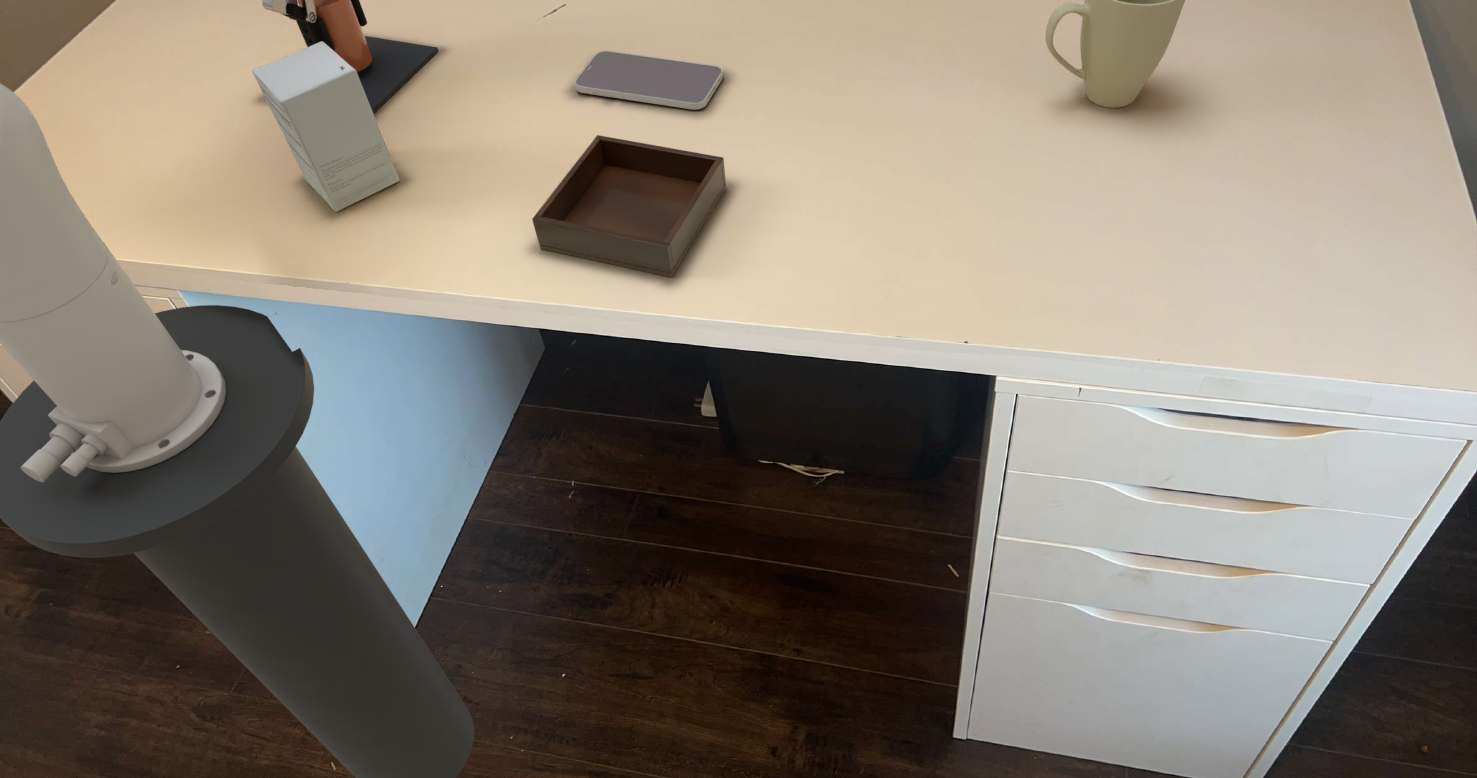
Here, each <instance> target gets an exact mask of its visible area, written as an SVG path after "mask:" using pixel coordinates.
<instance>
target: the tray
mask: <svg viewBox="0 0 1477 778" xmlns="http://www.w3.org/2000/svg"><path fill="white" fill-rule="evenodd" d="M726 189H727V181H726V169H725V159H724V157H723V156H718V155H711V154H706V153H700V152H695V151H691V150H690V151H689V150H683V149H677V148H673V147H666V146H661V145H655V144H649V143H644V142H639V141H634V140H633V141H632V140H628V139H623V138H622V139H621V138H616V137H610V136H604V135H599V134H597V135H596V136H595V137H594V139H592V141H591V143H590V144H589V145H588V146H587V148H586V149H585V151H583V153H582V154H581V155H580V157H579V158H578V159H577V160H576V162H575V163H574V164H573V166H572V167H571V168H570V170H569V171H568V172H567V173H566V175H565V176H564V177H563V178H562V179H561V181H560V182H559V184H558V185H557V187H556V188H555V189H554V190H553V191H552V193H551V194H550V195H549V197H548V198H547V199H546V200H545V202H544V203H543V204H542V205H541V207H540V208H539V209H538V211H537V212H536V213H535V215H534V216H533V217H532V218H531V219H532V224H533V227H534V231H535V235H536V238H537V241H538V245H539V249H540V250H545V251H548V252H553V253H557V254H563V255H567V256H571V257H576V258H581V259H586V260H589V261H594V262H600V263H604V264H608V265H612V266H618V267H622V268H626V269H627V268H628V269H631V270H635V271H640V272H645V273H649V274H654V275H659V276H664V277H667V278H673V276H674V275H675V274H676V271H677V270H678V268H679V266H680V265H681V263H682V262H683V260H684V258H685V256H686V254H687V253H688V251H689V250H690V248H691V247H692V245H693V244H694V242H695V240H696V238H697V237H698V235H699V234H700V232H701V231H702V228H703V227H704V225H705V223H706V222H707V220H708V219H709V217H710V215H711V214H712V212H713V210H714V208H716V205H717V204H718V202H719V201H720V199H721V197H722V196H723V194H724V193H725V190H726Z"/></svg>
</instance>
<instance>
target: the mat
mask: <svg viewBox="0 0 1477 778" xmlns="http://www.w3.org/2000/svg"><path fill="white" fill-rule="evenodd" d="M364 36H365V39H366V41H367V44H368V46H369V49H370V52H371V54H372V62H371V63H370V65H369V66H367V67H366V68H365V69H363V70H361V71H359V72H357V74H358V76H359V79H360V82H361V84H362V86H363V89H364V91H365V94H366V96H367V99H368V101H369V104H370V106H371V109H372V111H373V114H374V115H375V113H376V112H377V111H378V110H380V108H381V107H382V106H383V105H384V104H385V103H387V101H388V100H390V99H391V98H392V97H393V95H395V94H396V93H397V92H398V91H399V90H400V89H401V88H402V87H403V86H404V85H405V84H406V83H407V82H408V81H409V80H411V78H412V77H414V75H416V73H417V72H419V71H420V70H421V68H422V67H424V66H425V65H426V64H427V63H428V62H429V61H430V60H431V59H432V58H433V57H434V56H435V55H436V54H437V53H439V48H438V47H437V46H432V45H424V44H419V43H413V42H406V41H400V40H393V39H387V38H380V37H374V36H368V35H364Z"/></svg>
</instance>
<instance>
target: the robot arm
mask: <svg viewBox="0 0 1477 778" xmlns="http://www.w3.org/2000/svg"><path fill="white" fill-rule="evenodd" d="M261 2H262V7H263V9H264V10H267V11H271V12H274V13H278V14H280V15H282V16H285V17H287V18H288V19H289V20H291V21H296V25H297V26H298V29H299V31H300V33H301V35H302V38H303V40H304V43H305V45H306V48H307V47H310V46H312V45H314V44H317V43H319V42H324V43H325V44H326V45H327V46H329V47H330V48H331V49H332V50H333V51H334V52H335V48H334V45H333V43H332V40H331V38H330V35H329V33H328V30H327V28H326V25H325V23H324V21H323V19H322V18H318V17H317V15H316V10H315V4H314V0H302V6H303V7H301V6H299V3H298V0H262V1H261ZM351 2H352V4H353V7H354V9H355V12H356V15H357V17H358V20H359V23H360V25H361V27H366V26H367V24H368V20H367V18H366V15H365V12H364V10H363V7H362V4H361V1H360V0H351ZM155 313H156V312H155V311H154V310H153V309H152V308H151V306H150V305H149V303H148V301H146V299H145V298H144V296H143V295H142V293H141V292H140V291H139V289H138V288H137V286H136V285H135V283H134V282H133V281H132V279H131V278H130V277H129V275H128V273H126V270H124V269H123V267H122V266H121V264H120V263H119V261H118V260H117V259H116V257H115V255H114V254H113V253H112V252H111V250H110V249H109V247H108V246H107V245H106V243H105V242H104V241H103V239H102V238H101V237H100V235H99V234H98V232H97V231H96V230H95V227H94V226H93V225H92V224H91V223H90V221H89V220H88V218H87V216H86V215H85V213H83V210H81V208H80V206H79V204H78V203H77V202H76V199H75V198H74V196H73V194H72V193H71V192H70V190H69V188H68V186H67V184H66V182H65V180H64V179H63V177H62V175H61V172H60V170H59V168H58V166H57V163H56V162H55V159H54V156H53V154H52V152H51V150H50V147H49V144H48V142H47V140H46V137H45V135H44V133H43V130H42V128H41V125H40V124H39V123H38V120H37V118H36V117H35V115H34V113H33V112H32V110H31V109H30V107H29V106H28V105H27V104H26V103H25V101H23V99H21V98H20V96H19V95H17V93H15V92H14V91H12V90H11V89H10V88H8V87H7V86H5V85H4V84H2V83H1V82H0V345H1V346H3V348H4V349H5V350H6V352H8V354H10V356H11V357H12V358H13V359H14V360H15V361H16V362H17V363H18V364H19V366H20V367H21V368H22V369H23V370H24V372H26V373H27V374H28V375H29V377H30V378H31V379H32V381H35V382H36V383H37V384H38V385H39V386H40V388H41V389H42V390H43V391H44V392H45V393H46V394H47V395H48V396H49V397H50V399H51V400H52V401H53V402H54V403H55V404H56V405H57V407H56V408H54V409H53V410H52V411H51V412H50V413H49V414H48V416H49V417H50V418H51V419H52V421H53V422H54V423H55V424H56V425H57V426H56V428H54V429H53V430H52V431H51V432H50V433H49V435H50V437H51V438H52V439H51V440H50V441H49V442H48V443H47V444H46V445H45V446H44V447H42V448H41V449H39V450H38V451H37V452H36V453H35V454H34V455H32V456H31V457H30V458H29V459H28V460H27V461H26V462H25V463H24V464H23V465H22V466H21V469H22V471H24V472H25V473H26V474H27V475H28V476H30V477H31V478H33V479H35V480H37V481H39V482H45V481H46V480H47V479H48V478H49V477H50V476H51V475H52V474H53V473H54V472H55V471H56V470H57V469H58V468H59V467H61V468H62V469H63V470H64V471H65V472H67V473H68V474H70V475H72V476H75V477H77V476H78V475H79V473H80V472H81V471H82V470H83V469H84V468H85V467H88V468H90V469H93V470H97V471H101V472H112V473H117V472H128V471H134V470H138V469H142V468H146V467H149V466H152V465H155V464H157V463H160V462H163V461H165V460H166V459H168V458H170V457H172V456H174V455H176V454H178V453H179V452H181V451H183V450H184V449H186V448H187V447H189V446H190V445H191V444H192V443H194V442H195V441H196V440H197V439H198V438H200V437H201V436H202V435H203V434H204V433H205V432H206V430H207V429H208V428H209V427H210V426H211V425H212V424H213V422H214V421H215V419H216V418H217V416H218V415H219V413H220V411H221V408H222V406H223V404H224V400H225V395H226V385H225V380H224V378H223V376H222V373H221V372H220V371H219V369H218V368H217V366H216V365H215V364H214V363H213V362H212V361H211V360H210V359H209V358H207V357H205V356H203V355H201V354H199V353H195V352H191V351H187V350H180V348H179V347H178V345H177V344H176V343H175V341H174V340H173V338H172V337H171V336H170V334H169V333H168V331H167V330H166V329H165V327H164V326H163V324H162V323H161V322H160V320H159V319H158V317H157V316H156V315H155ZM70 454H71V455H70ZM69 455H70V456H69ZM68 456H69V457H68ZM67 457H68V458H67ZM66 458H67V459H66ZM65 459H66V460H65ZM64 460H65V461H64ZM63 461H64V462H63ZM62 462H63V464H62V465H61V463H62Z"/></svg>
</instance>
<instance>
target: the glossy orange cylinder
mask: <svg viewBox="0 0 1477 778" xmlns="http://www.w3.org/2000/svg"><path fill="white" fill-rule="evenodd" d="M297 2H298V6H301V7H303V6H302V0H297ZM314 4H315V10H316V15H317V17H318V18H322V19H323V21H324V23H325V25H326V28H327V30H328V33H329V35H330V38H331V40H332V43H333V45H334V48H335V53H337V54H338V55H339V56H340V57H341V58H342V59H343V60H344V61H346V62H347V63H348V64H349V65H350V66H351V67H353V68H354V69H355V70H356V71H357V72H359V71H361V70H363V69H365V68H366V67H367V66H369V65H370V63H371V62H372V54H371V52H370V49H369V46H368V44H367V41H366V39H365V36H366V35H365V33H364V31H363V28H362V26H361V25H360V23H359V20H358V17H357V15H356V12H355V9H354V7H353V4H352V2H351V0H314Z"/></svg>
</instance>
